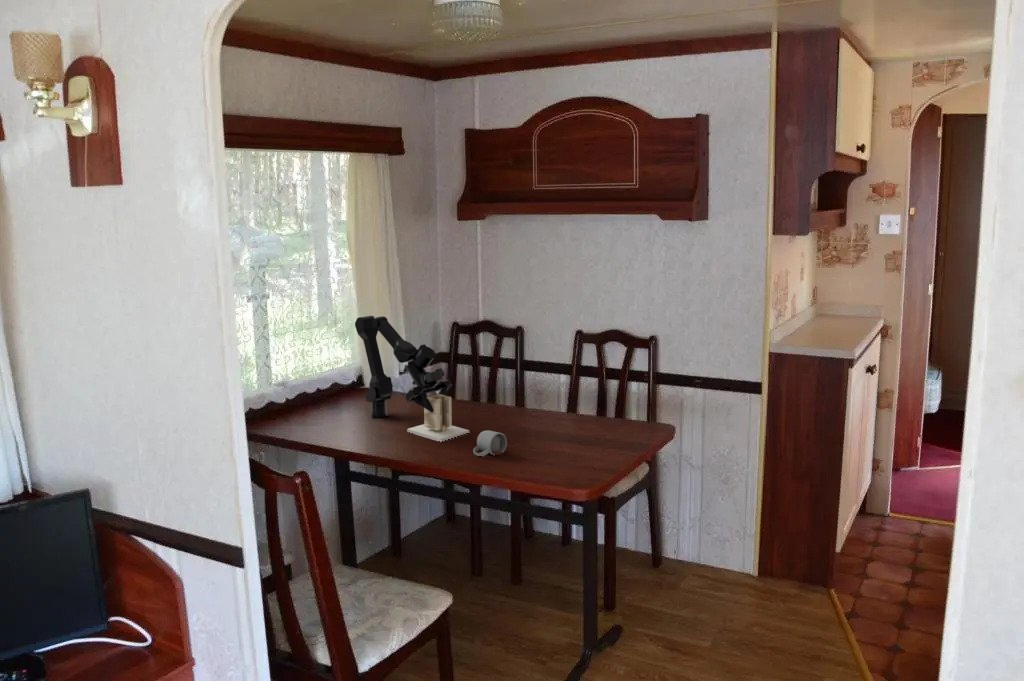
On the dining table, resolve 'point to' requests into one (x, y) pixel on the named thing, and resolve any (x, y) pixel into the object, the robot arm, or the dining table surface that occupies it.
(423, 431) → the post plate
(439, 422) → the beech collar
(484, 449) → the ceramic mug
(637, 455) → the dining table surface
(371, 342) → the robot arm
